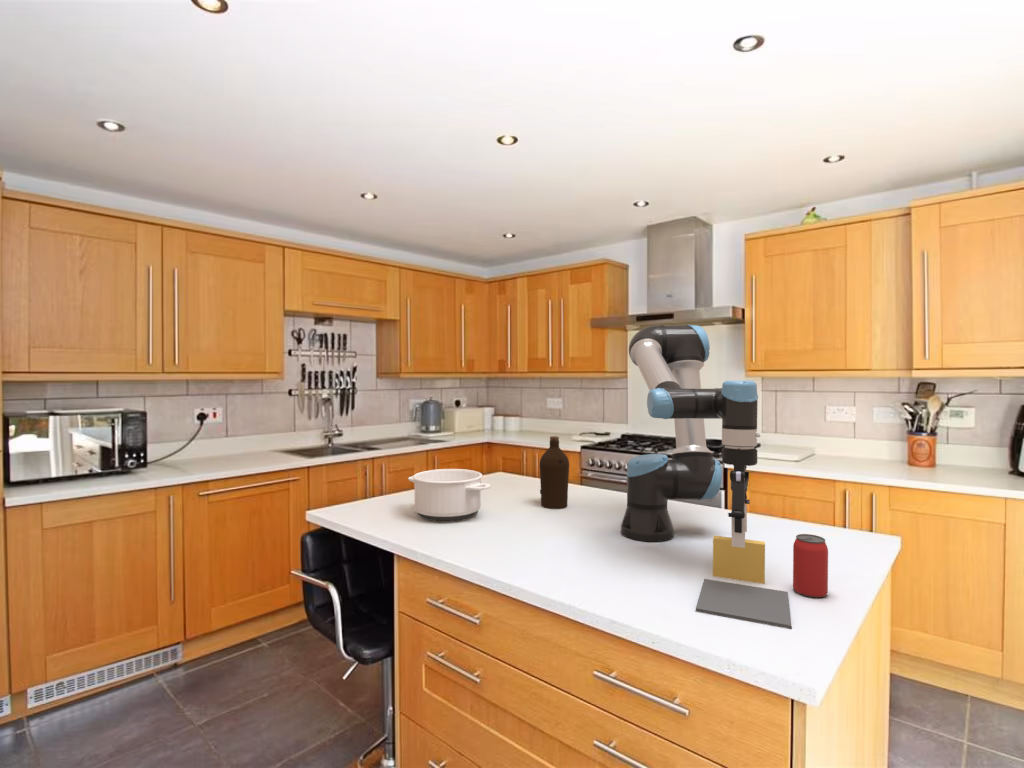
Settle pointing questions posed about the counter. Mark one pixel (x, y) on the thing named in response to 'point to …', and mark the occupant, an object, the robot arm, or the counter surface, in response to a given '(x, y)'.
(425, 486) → the pot
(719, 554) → the slab
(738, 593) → the mat
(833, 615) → the counter surface
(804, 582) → the beer can
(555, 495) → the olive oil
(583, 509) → the counter surface
